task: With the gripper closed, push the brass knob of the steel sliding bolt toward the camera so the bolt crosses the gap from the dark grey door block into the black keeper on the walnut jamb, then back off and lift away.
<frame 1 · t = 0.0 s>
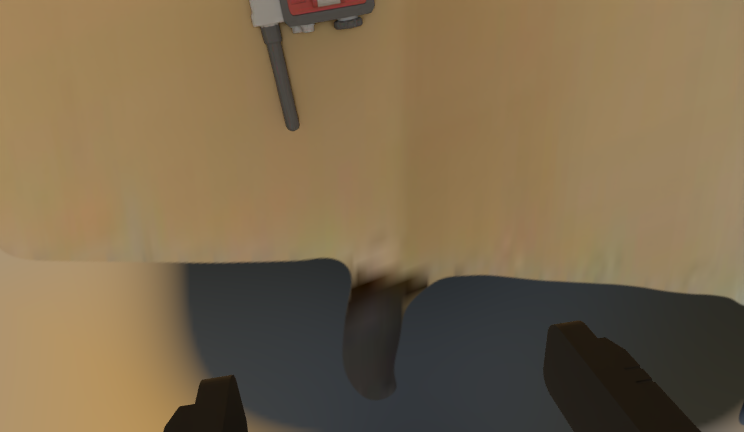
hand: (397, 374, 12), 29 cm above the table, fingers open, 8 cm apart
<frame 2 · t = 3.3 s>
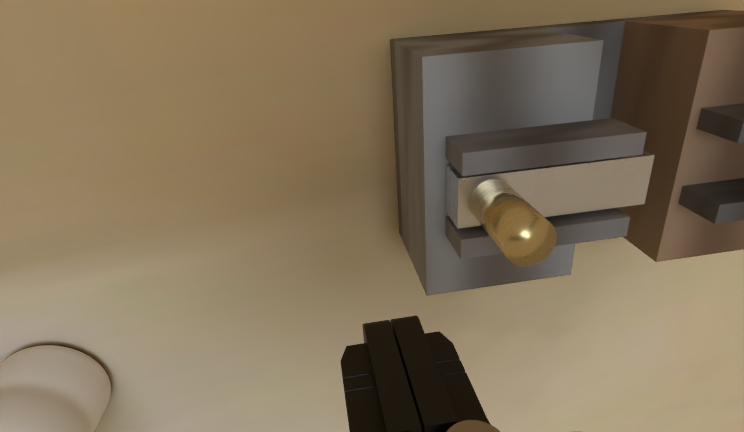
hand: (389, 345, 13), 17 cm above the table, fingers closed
door and jamb: (552, 127, 30), on the table
water bottle: (59, 378, 33), on the table
bolt: (567, 201, 20), point 10 cm above the table, slide at 0.0 cm
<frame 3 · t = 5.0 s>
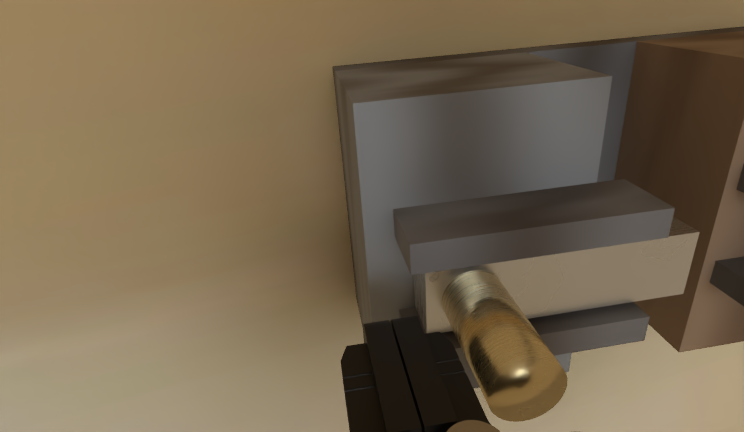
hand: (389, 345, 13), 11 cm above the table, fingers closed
door and jamb: (544, 171, 24), on the table
bolt: (580, 302, 14), point 10 cm above the table, slide at 0.6 cm, touching gripper
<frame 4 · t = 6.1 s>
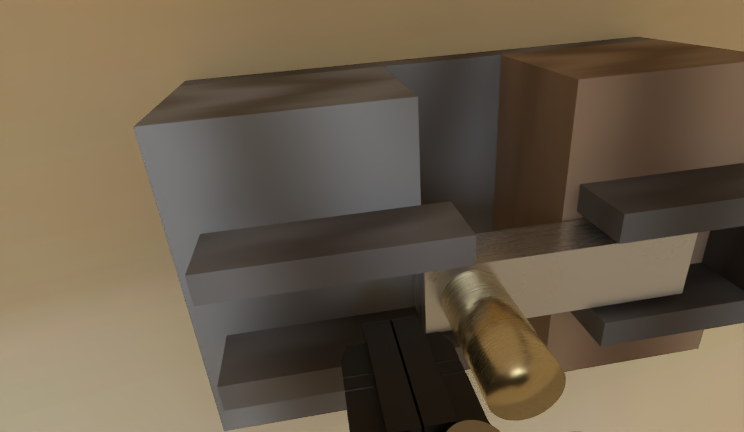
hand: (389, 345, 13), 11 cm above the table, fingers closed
door and jamb: (426, 186, 23), on the table
bolt: (579, 302, 14), point 10 cm above the table, slide at 6.6 cm, touching gripper
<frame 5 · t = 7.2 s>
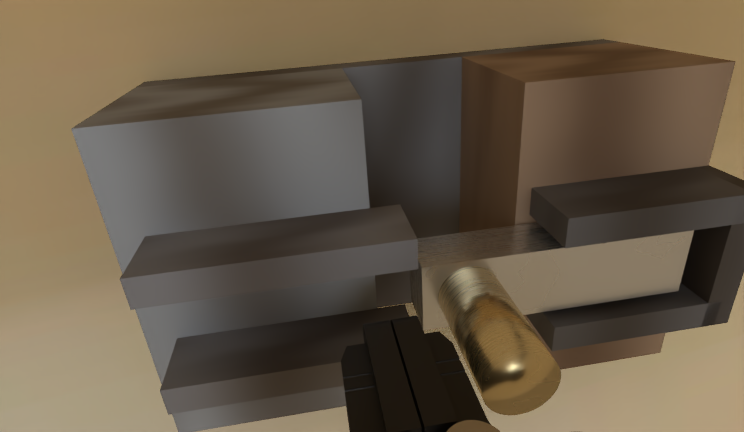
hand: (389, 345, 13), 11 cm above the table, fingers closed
door and jamb: (392, 188, 23), on the table
bolt: (575, 299, 14), point 10 cm above the table, slide at 8.2 cm, touching gripper
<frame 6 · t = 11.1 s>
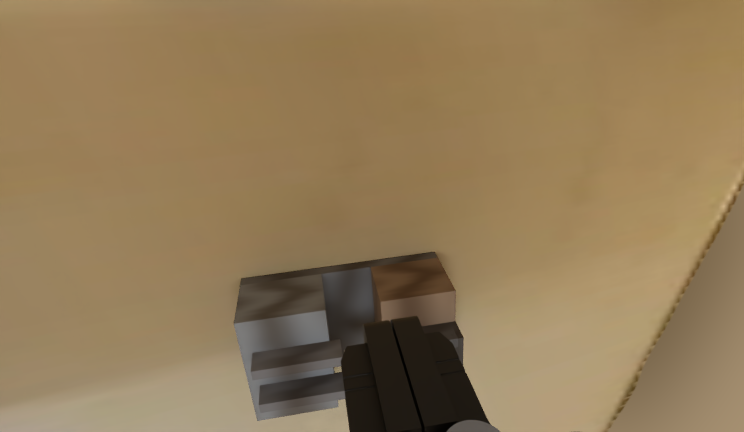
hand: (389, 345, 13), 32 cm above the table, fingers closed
door and jamb: (345, 312, 52), on the table
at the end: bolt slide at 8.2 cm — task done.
